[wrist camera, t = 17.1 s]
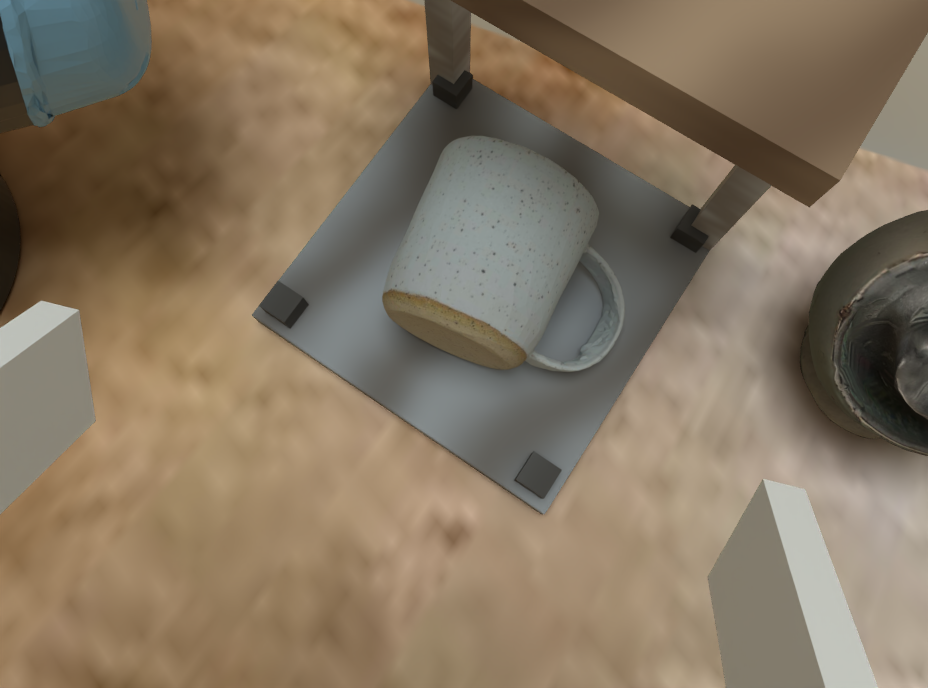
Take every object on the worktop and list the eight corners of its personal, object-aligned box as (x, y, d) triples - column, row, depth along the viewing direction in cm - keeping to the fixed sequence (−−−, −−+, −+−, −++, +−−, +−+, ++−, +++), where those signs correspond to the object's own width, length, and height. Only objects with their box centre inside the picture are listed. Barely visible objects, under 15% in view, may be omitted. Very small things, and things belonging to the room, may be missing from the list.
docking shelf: (258, 321, 35) (39, 120, 17) (447, 77, 38) (432, -310, 20) (541, 514, 33) (638, 519, 15) (715, 236, 36) (969, -38, 18)
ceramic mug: (379, 331, 33) (358, 282, 26) (446, 189, 35) (444, 104, 28) (582, 417, 33) (621, 392, 25) (640, 267, 34) (692, 202, 27)
